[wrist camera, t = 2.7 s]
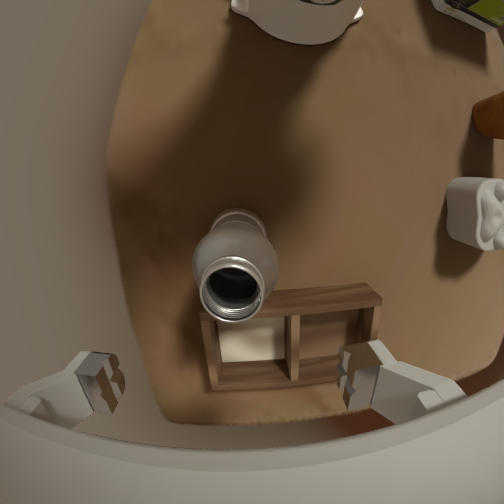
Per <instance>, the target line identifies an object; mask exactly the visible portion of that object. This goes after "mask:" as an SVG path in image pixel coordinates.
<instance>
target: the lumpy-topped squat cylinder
mask: <svg viewBox="0 0 504 504" xmlns="http://www.w3.org/2000/svg"><path fill="white" fill-rule="evenodd" d="M446 200H447V208H448V213H447V232H448V234H449V236H450V237H451V238H452V239H454V240H456V241H459V242H462V243H465V244H467V245H470V246H473V247H475V248H478V249H480V250H483V251H494V250H498V249H504V180H502V179H494V178H481V177H459V178H455V179H453V180H452V181H451V182H450V183H449V185H448V187H447V191H446Z"/></svg>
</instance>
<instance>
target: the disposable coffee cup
mask: <svg viewBox="0 0 504 504" xmlns="http://www.w3.org/2000/svg"><path fill="white" fill-rule="evenodd" d="M472 114H473V120H474V123H475V126H476V128H477V130H478V131H479V133H480V134H481V135H482V136H484V137H486V138H495V139H503V140H504V91H503V92H500V93H498V94H496V95H493V96H491V97H489V98H487V99H484V100H482V101H480V102H478V103H476V104H475V105H474V107H473V111H472Z"/></svg>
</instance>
